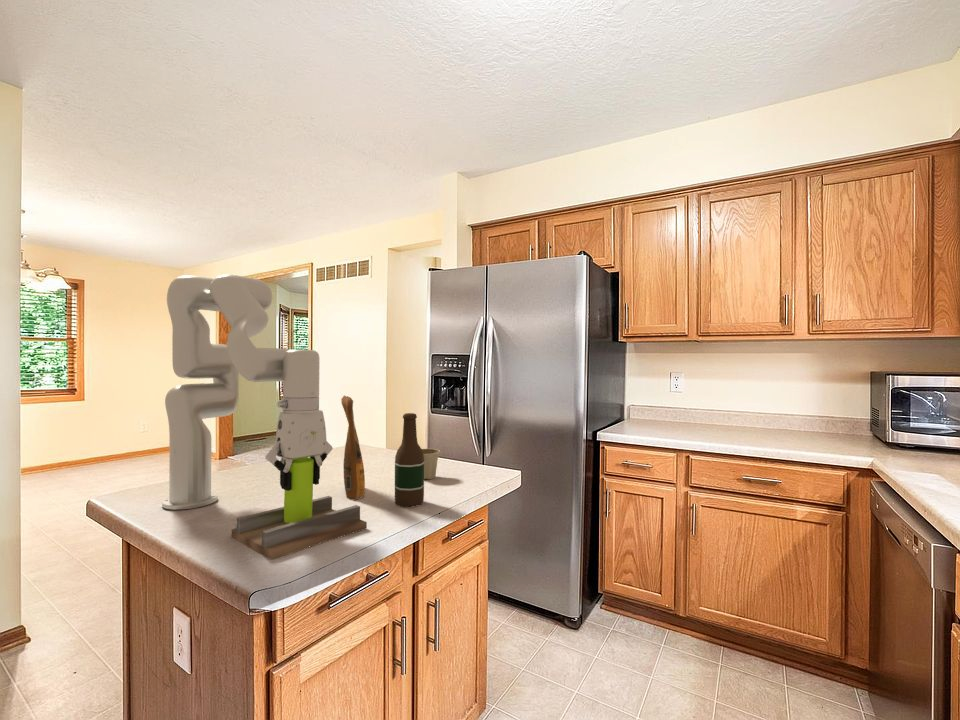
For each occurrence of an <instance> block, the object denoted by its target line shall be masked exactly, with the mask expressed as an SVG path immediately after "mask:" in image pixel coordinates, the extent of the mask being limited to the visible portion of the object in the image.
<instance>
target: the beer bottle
mask: <svg viewBox="0 0 960 720" xmlns="http://www.w3.org/2000/svg"><path fill="white" fill-rule="evenodd" d="M417 418H418V417H417V414H416V413H414V412H409V413H404V414H403V415H402V419H403V425H402V426H403V427H402V439H401V440H402V441H401V444H400V445H399V447H398V449H397V451H396V453H395V457H394V504H395V505H396V504H397V506H399V508H415V507H420V506H421V505H422V504H423V503H424V501H425V500H424V499H425V480H424V455H423V452H422V449H423V448H421V446H420V444H419V443H418V436H417Z"/></svg>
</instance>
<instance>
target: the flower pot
mask: <svg viewBox="0 0 960 720" xmlns="http://www.w3.org/2000/svg"><path fill="white" fill-rule="evenodd" d="M421 449H422V452H423V455H424V481H425V480H426V479H427V480H433V479H435V478H436V477H437V475H436V474H437V466H438V460H439V456H440V453H441V450H440V449H436V448H421Z"/></svg>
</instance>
